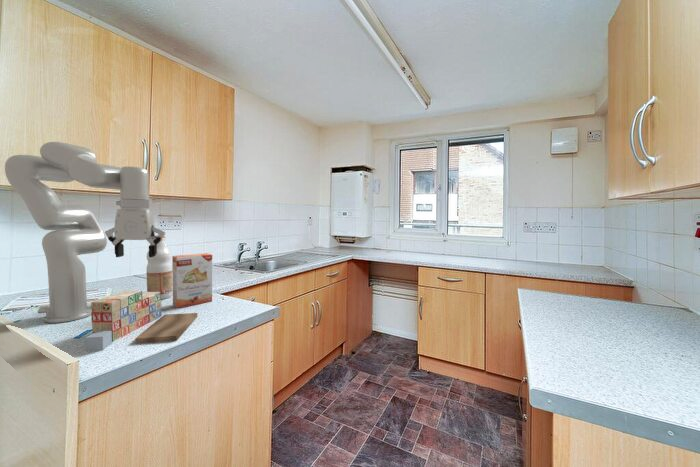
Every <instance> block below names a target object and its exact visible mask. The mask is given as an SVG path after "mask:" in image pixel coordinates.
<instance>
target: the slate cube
mask: <svg viewBox="0 0 700 467" xmlns="http://www.w3.org/2000/svg"><path fill="white" fill-rule="evenodd" d="M112 344H113V342H112V332H111V331H98V332H94V333H91V334H89V335H88V336H86V337H85V351H86V352H96V351H98V352H99V351H104V350H106V349H107V348H108V347H109V346H111V345H112Z"/></svg>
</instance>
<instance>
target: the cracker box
mask: <svg viewBox="0 0 700 467" xmlns="http://www.w3.org/2000/svg"><path fill="white" fill-rule="evenodd" d="M171 258H172V260H171V261H172V262H171V265H172V306H174V307H175V308H176V309H178V308H185V307H189V306H194V305H199V304H205V303H210V302H212V301H213V254H211V253H207V252H206V253H193V254H180V255H178V254H177V255H171Z"/></svg>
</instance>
